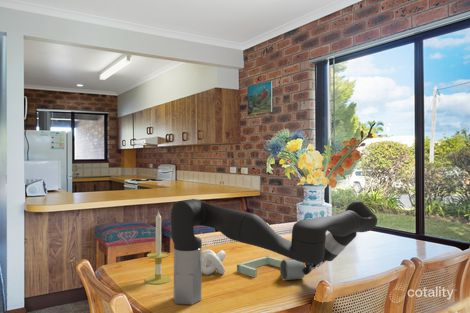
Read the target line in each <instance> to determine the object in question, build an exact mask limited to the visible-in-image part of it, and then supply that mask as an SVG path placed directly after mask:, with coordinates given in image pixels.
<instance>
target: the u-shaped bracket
mask: <svg viewBox="0 0 470 313" xmlns="http://www.w3.org/2000/svg"><path fill="white" fill-rule="evenodd" d="M282 260H283V259H280V258H277V257H272V256H270V255H267V256H266V255H265V256H263V257H258V258H256V259H251V260H248V261H244V262H240V263H237V264H236V272H238V273H241V274H243V275H246V276H249V277H252V278H256V277H258V269H257V268H259V267H262V266H266V265H270V266H273V267H276V268H280V264H281V261H282Z"/></svg>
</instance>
